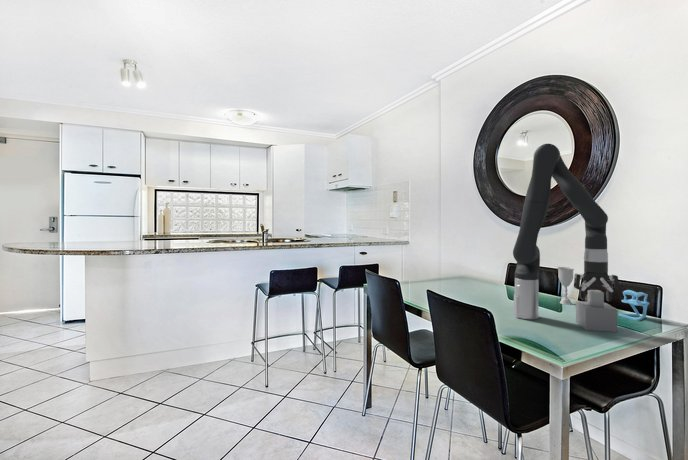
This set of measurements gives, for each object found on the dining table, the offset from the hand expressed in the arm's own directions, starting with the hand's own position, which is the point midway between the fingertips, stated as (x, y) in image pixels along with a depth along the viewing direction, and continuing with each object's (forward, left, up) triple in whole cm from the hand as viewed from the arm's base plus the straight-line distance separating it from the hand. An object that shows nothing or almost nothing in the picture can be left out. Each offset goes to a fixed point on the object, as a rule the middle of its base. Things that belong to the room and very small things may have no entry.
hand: (595, 300), depth 130 cm
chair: (+21, +18, -11) cm, 30 cm away
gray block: (0, 0, -11) cm, 11 cm away
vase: (+11, +32, -11) cm, 36 cm away
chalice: (+1, +38, -11) cm, 40 cm away
